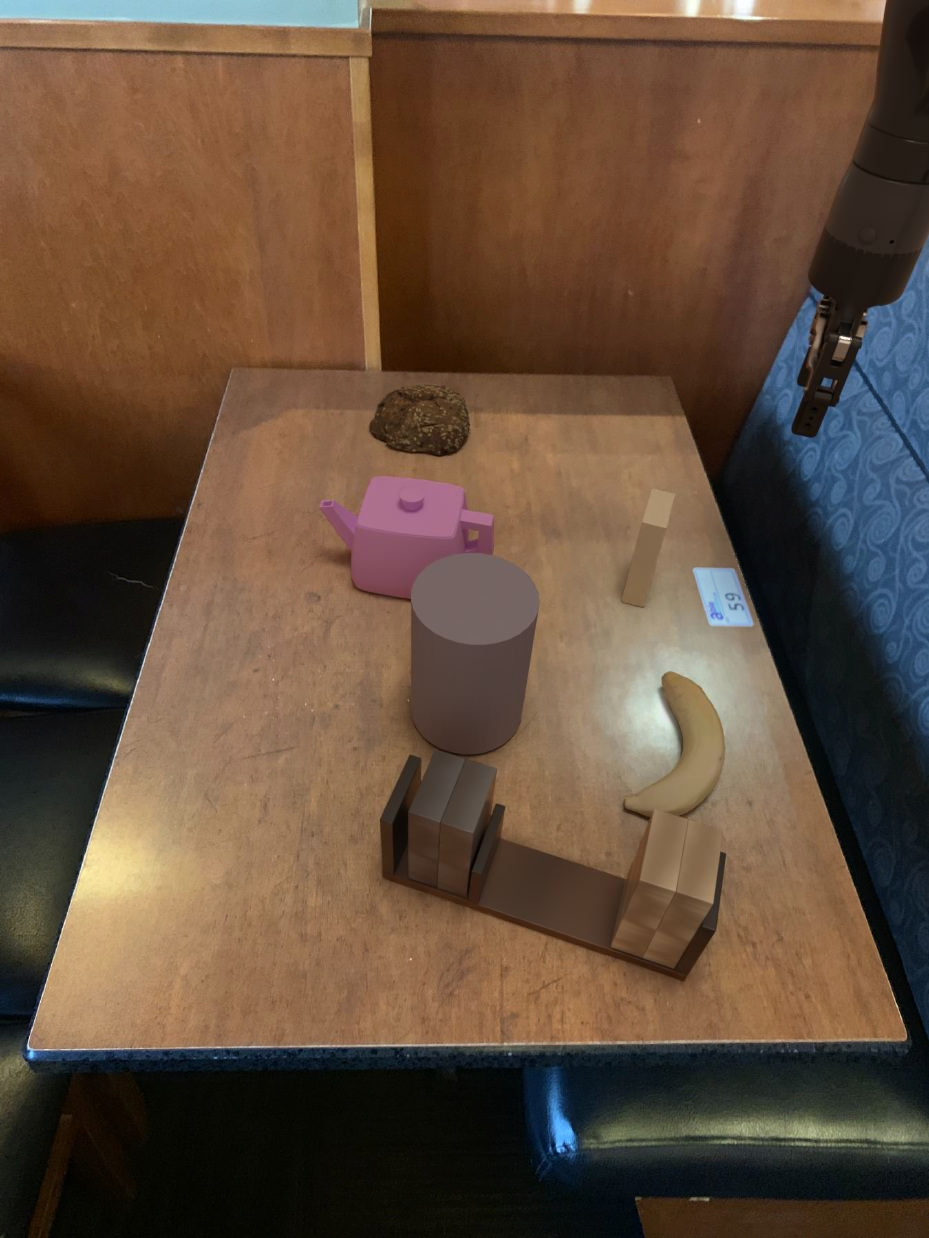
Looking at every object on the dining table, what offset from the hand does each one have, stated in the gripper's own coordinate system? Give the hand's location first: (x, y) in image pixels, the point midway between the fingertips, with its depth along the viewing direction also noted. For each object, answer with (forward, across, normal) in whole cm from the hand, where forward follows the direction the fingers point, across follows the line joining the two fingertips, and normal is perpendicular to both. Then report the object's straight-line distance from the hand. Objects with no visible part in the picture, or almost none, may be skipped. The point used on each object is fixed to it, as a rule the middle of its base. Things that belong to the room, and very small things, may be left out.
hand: (805, 409), depth 78 cm
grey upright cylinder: (+21, -28, +22) cm, 42 cm away
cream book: (+21, -6, +10) cm, 24 cm away
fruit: (+21, -26, +4) cm, 34 cm away
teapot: (+21, -12, +34) cm, 42 cm away
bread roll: (+21, +13, +42) cm, 49 cm away
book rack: (+21, -43, +11) cm, 49 cm away
